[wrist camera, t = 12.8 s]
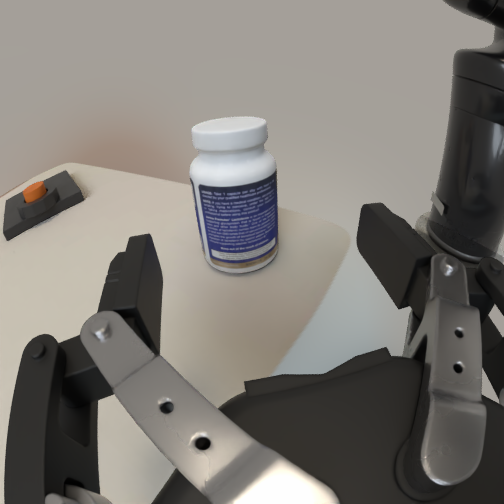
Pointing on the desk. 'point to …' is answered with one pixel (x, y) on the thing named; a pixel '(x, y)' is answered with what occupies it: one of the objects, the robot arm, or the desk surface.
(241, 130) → the pill bottle
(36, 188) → the button
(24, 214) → the scale
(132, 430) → the desk surface
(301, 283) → the desk surface
